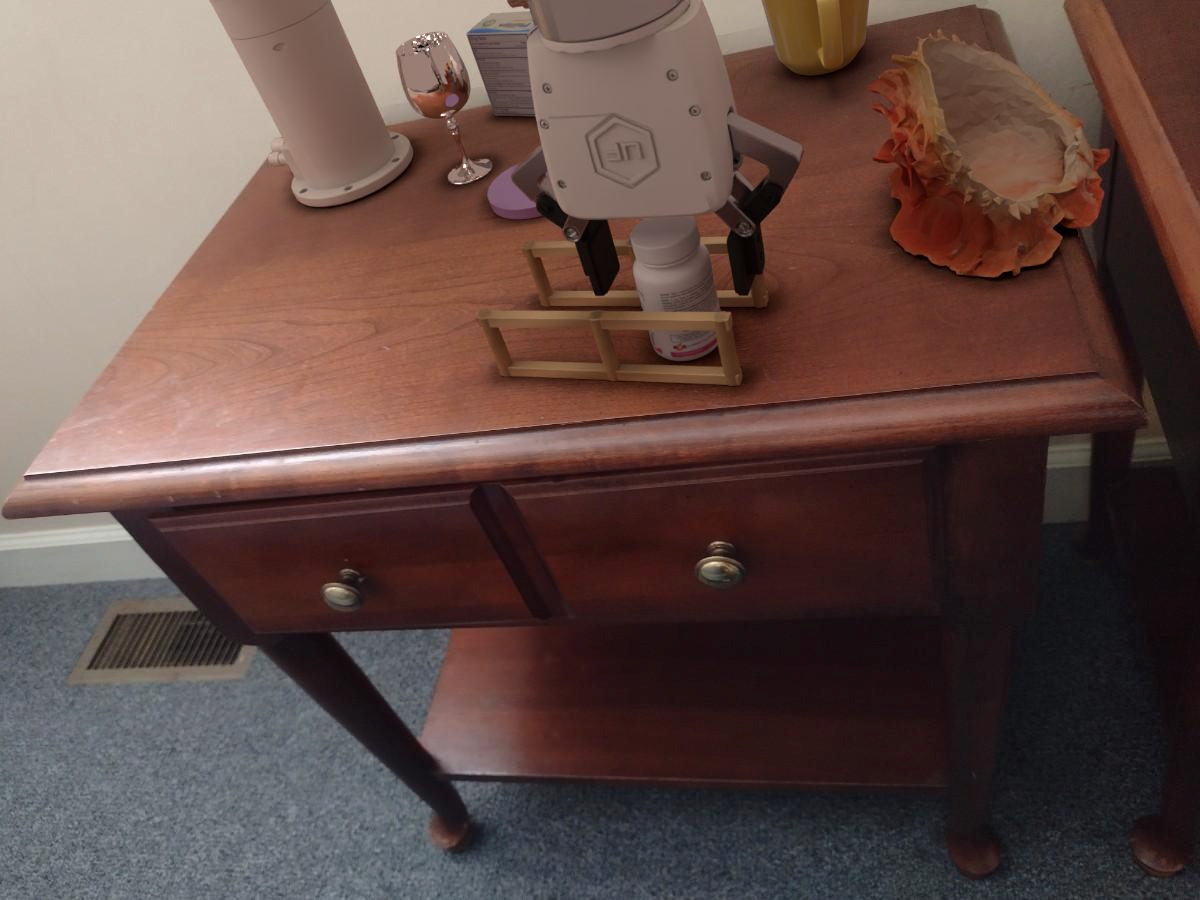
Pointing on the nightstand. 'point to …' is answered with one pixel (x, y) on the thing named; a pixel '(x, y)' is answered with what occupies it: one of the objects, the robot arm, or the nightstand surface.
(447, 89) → the wineglass
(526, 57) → the medicine box
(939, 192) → the seashell
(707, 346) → the pill bottle
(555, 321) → the rack
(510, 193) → the coaster
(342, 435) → the nightstand surface
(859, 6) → the mug
